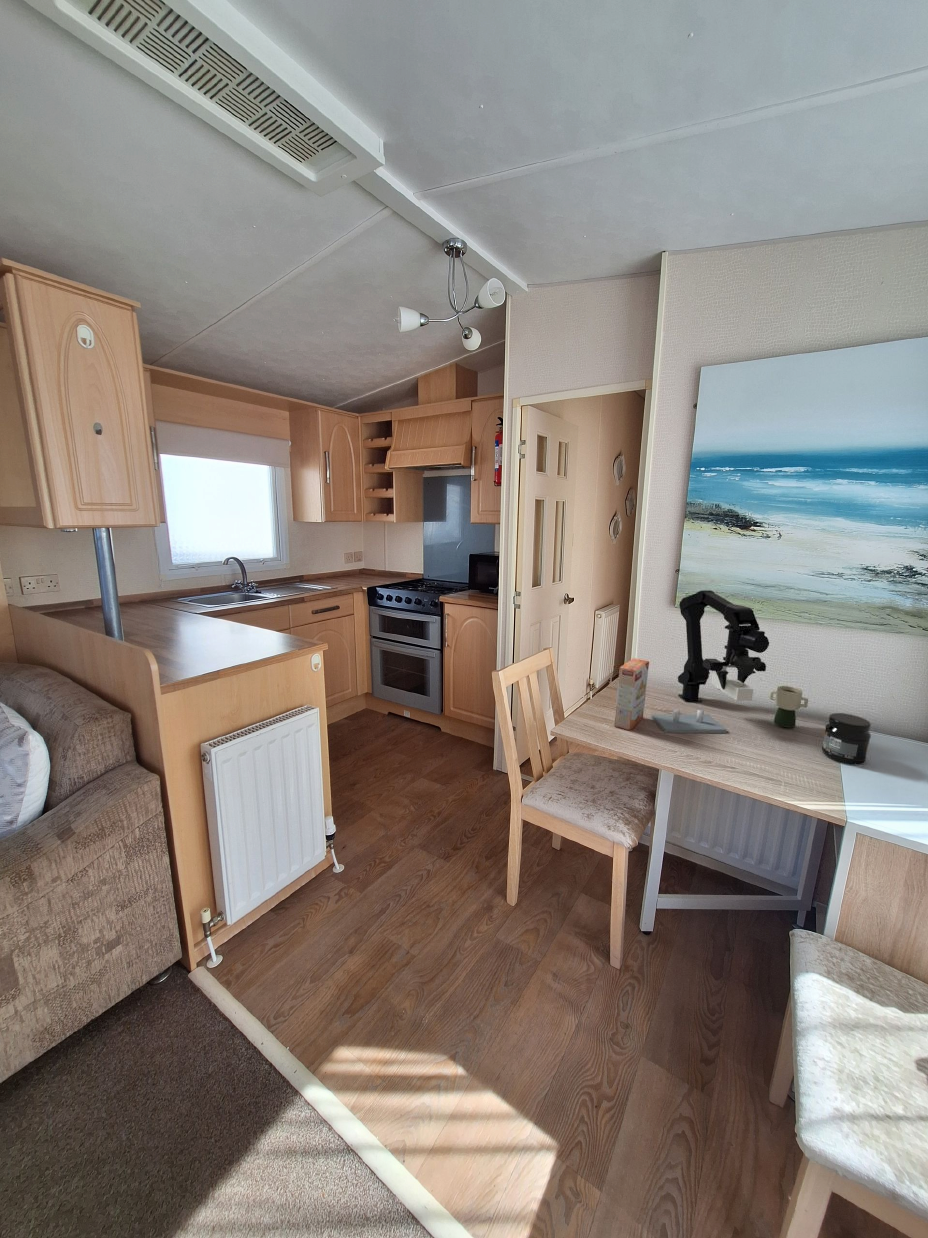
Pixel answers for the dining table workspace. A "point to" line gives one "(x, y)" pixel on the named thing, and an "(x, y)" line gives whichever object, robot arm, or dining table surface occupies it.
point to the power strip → (734, 688)
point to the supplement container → (846, 738)
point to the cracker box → (631, 693)
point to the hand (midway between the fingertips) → (730, 689)
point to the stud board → (688, 723)
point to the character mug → (787, 705)
